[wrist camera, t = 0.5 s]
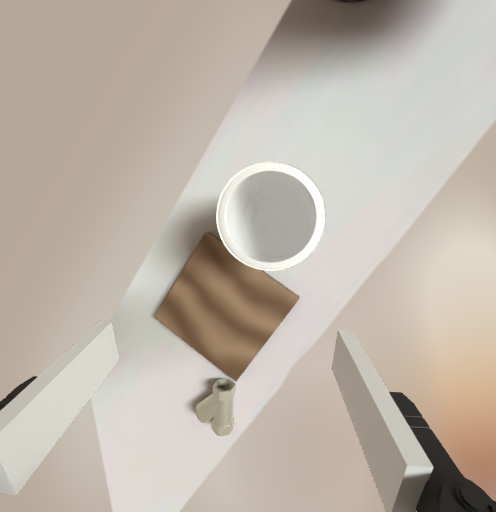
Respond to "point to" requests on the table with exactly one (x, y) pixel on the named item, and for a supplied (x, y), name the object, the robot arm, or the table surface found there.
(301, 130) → the table surface
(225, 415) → the pipe fitting
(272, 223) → the jar
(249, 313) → the walnut board
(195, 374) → the table surface
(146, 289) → the table surface
